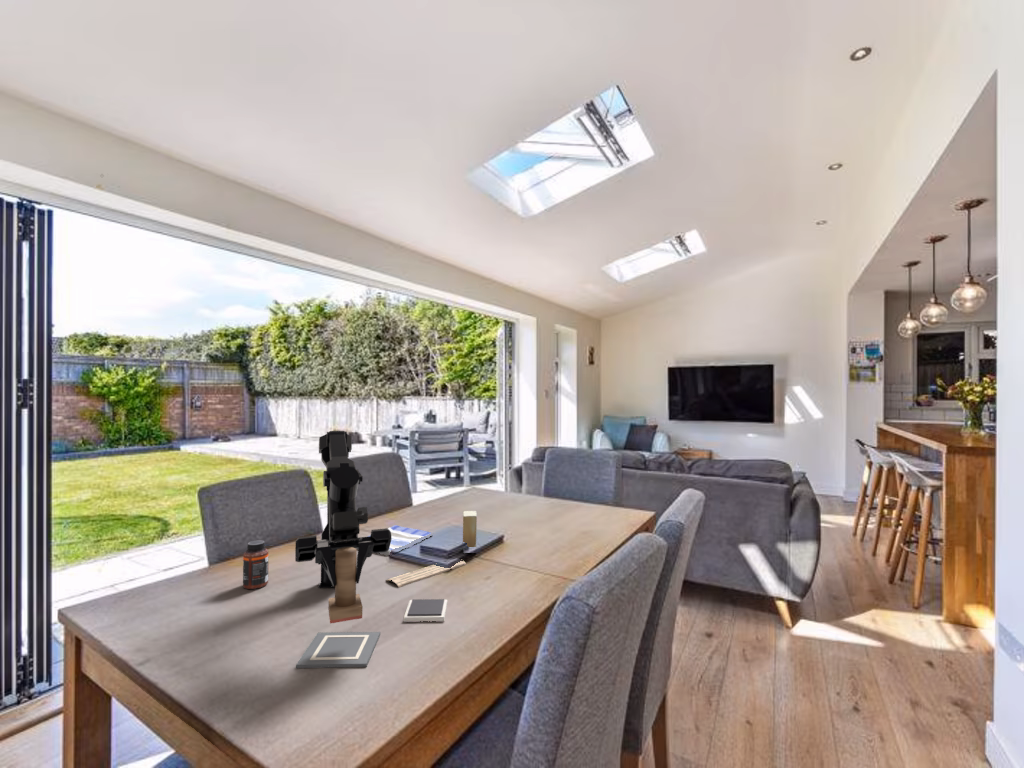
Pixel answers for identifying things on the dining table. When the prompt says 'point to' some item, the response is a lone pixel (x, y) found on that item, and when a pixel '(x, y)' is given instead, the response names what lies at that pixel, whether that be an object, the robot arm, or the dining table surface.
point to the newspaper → (422, 574)
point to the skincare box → (469, 528)
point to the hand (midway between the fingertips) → (346, 584)
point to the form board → (339, 650)
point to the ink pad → (426, 610)
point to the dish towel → (403, 537)
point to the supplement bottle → (255, 565)
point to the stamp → (345, 588)
